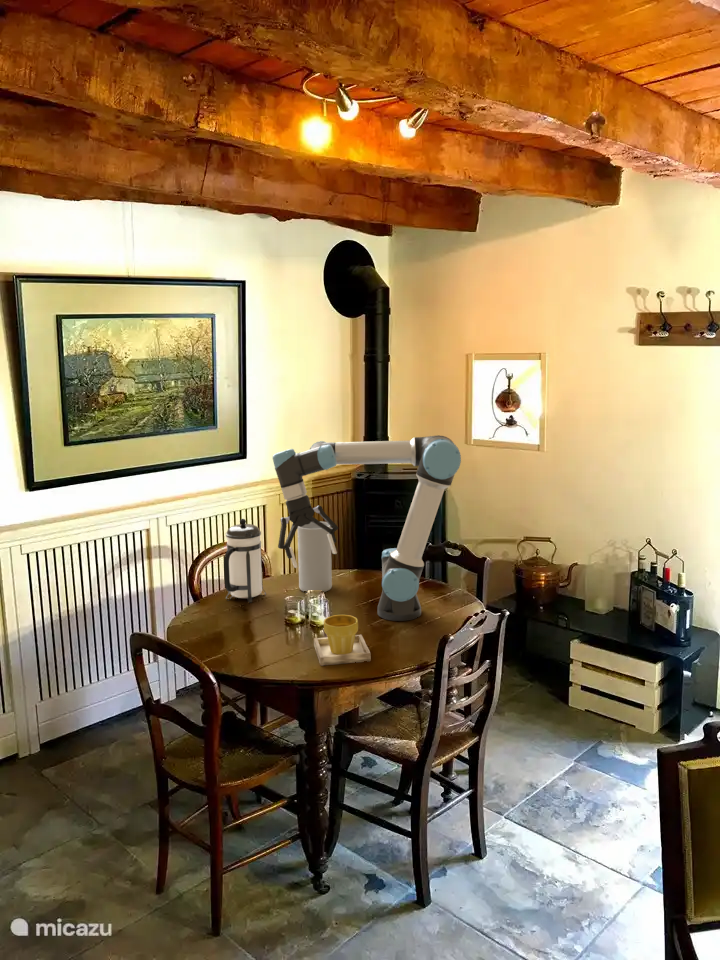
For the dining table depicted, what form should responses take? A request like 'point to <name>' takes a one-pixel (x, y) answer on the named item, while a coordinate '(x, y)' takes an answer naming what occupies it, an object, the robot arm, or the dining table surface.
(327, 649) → the birch tray
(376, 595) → the dining table surface
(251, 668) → the dining table surface
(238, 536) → the coffee press
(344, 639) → the plant pot
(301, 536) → the cylinder vase
